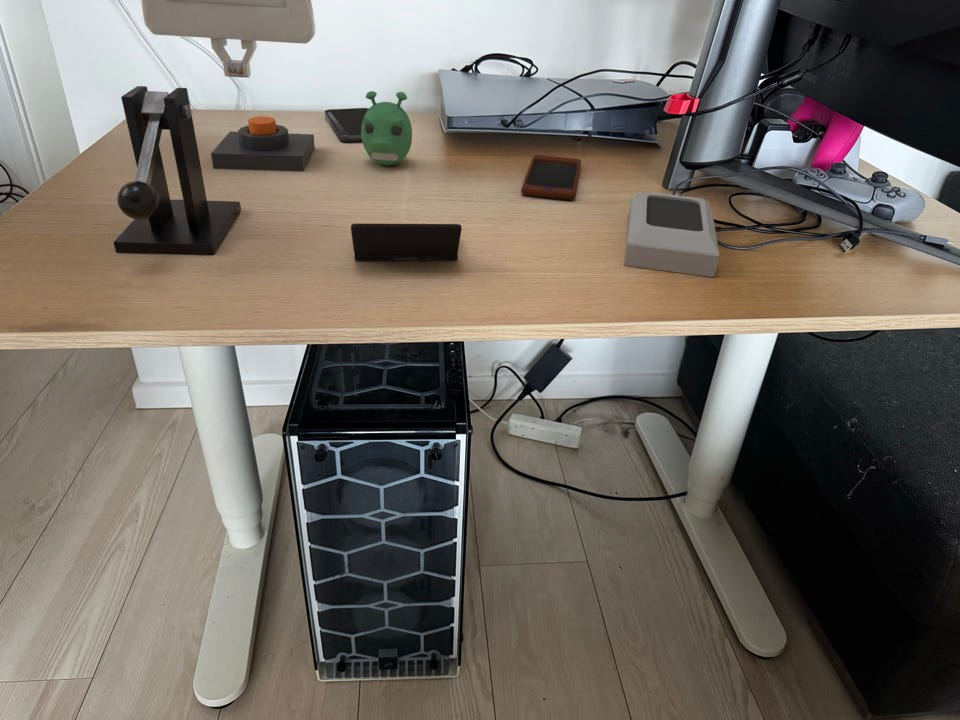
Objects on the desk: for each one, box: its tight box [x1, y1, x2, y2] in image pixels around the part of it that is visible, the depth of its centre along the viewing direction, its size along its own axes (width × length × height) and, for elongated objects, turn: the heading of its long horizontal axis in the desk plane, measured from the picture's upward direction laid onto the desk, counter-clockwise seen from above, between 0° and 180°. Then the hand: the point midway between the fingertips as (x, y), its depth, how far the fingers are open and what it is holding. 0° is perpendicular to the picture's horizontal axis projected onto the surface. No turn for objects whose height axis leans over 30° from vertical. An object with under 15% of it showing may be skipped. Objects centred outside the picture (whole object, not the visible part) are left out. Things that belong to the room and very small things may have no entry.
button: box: [247, 115, 277, 135], centre depth 97 cm, size 4×4×2 cm
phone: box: [324, 107, 370, 144], centre depth 113 cm, size 8×1×15 cm
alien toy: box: [361, 90, 413, 167], centre depth 97 cm, size 7×8×10 cm
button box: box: [210, 124, 316, 172], centre depth 98 cm, size 12×10×4 cm
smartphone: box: [520, 154, 582, 201], centre depth 97 cm, size 7×1×15 cm
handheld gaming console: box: [350, 222, 463, 262], centre depth 74 cm, size 12×7×10 cm
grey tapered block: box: [623, 191, 721, 278], centre depth 81 cm, size 10×4×15 cm
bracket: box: [113, 85, 242, 256], centre depth 74 cm, size 12×10×15 cm
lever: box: [116, 90, 170, 220], centre depth 69 cm, size 14×4×4 cm
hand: (238, 76), depth 91 cm, fingers closed
